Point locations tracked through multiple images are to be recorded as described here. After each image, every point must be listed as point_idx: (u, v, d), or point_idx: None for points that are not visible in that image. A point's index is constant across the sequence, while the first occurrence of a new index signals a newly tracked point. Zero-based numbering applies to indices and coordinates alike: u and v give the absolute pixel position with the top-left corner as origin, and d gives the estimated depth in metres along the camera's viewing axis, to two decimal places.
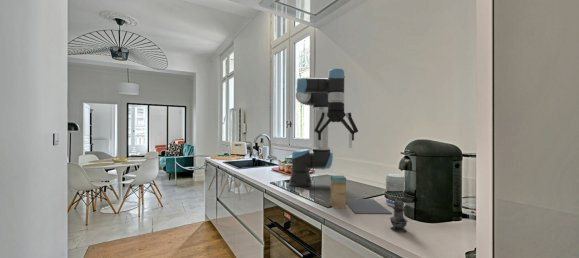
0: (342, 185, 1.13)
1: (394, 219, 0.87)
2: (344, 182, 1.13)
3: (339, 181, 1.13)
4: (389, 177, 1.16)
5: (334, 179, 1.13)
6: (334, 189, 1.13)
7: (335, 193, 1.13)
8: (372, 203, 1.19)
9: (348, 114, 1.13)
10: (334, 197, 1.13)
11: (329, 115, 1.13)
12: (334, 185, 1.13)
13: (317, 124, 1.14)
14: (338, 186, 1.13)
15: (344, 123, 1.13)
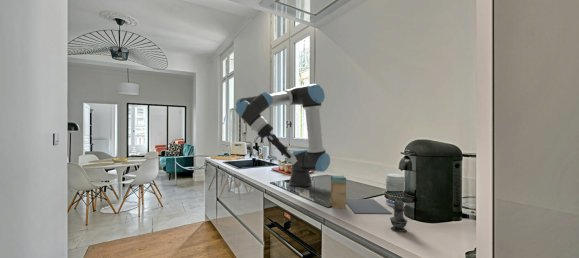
0: (342, 185, 1.13)
1: (394, 219, 0.87)
2: (344, 182, 1.13)
3: (339, 181, 1.13)
4: (389, 177, 1.16)
5: (334, 179, 1.13)
6: (334, 189, 1.13)
7: (335, 193, 1.13)
8: (372, 203, 1.19)
9: None
10: (334, 197, 1.13)
11: None
12: (334, 185, 1.13)
13: None
14: (338, 186, 1.13)
15: None
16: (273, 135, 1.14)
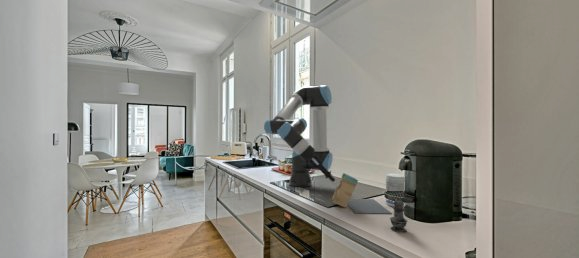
0: (351, 186, 1.13)
1: (394, 219, 0.87)
2: (354, 184, 1.13)
3: (350, 180, 1.13)
4: (389, 177, 1.16)
5: (346, 177, 1.13)
6: (342, 186, 1.13)
7: (342, 190, 1.13)
8: (372, 203, 1.19)
9: None
10: (339, 193, 1.13)
11: None
12: (344, 182, 1.13)
13: None
14: (347, 185, 1.13)
15: None
16: (316, 158, 1.14)
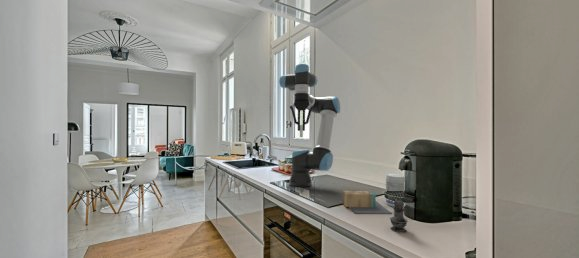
0: (367, 203, 1.13)
1: (394, 219, 0.87)
2: (370, 205, 1.13)
3: (372, 200, 1.13)
4: (389, 177, 1.16)
5: (373, 195, 1.13)
6: (363, 195, 1.13)
7: (360, 196, 1.13)
8: None
9: (311, 107, 1.30)
10: (356, 195, 1.13)
11: (296, 104, 1.30)
12: (367, 195, 1.13)
13: (293, 117, 1.31)
14: (367, 199, 1.13)
15: (303, 113, 1.30)
16: None
